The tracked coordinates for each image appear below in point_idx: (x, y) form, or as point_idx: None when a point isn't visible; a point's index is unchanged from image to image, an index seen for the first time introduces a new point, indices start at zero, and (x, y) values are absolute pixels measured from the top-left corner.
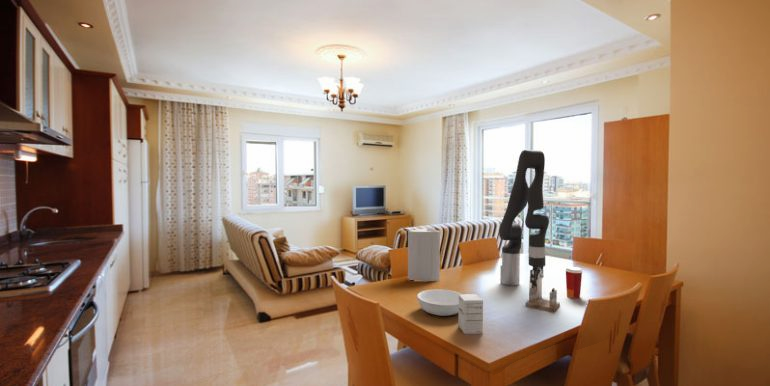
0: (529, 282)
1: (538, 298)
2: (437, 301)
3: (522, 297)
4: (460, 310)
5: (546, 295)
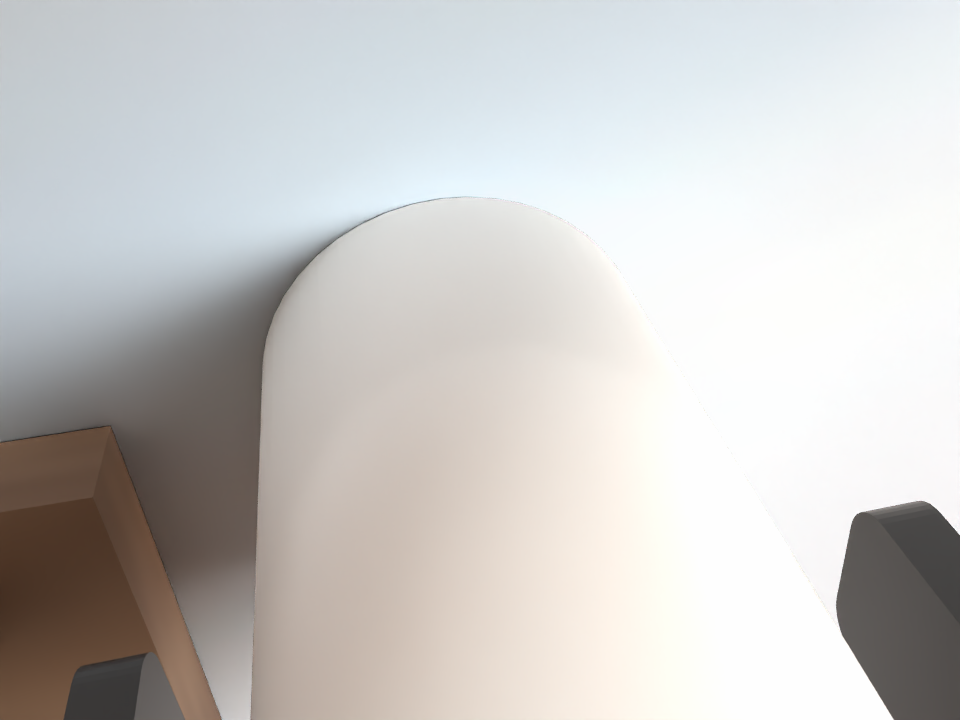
0: (413, 717)
1: (148, 638)
2: None
3: (136, 51)
4: None
5: (875, 454)
